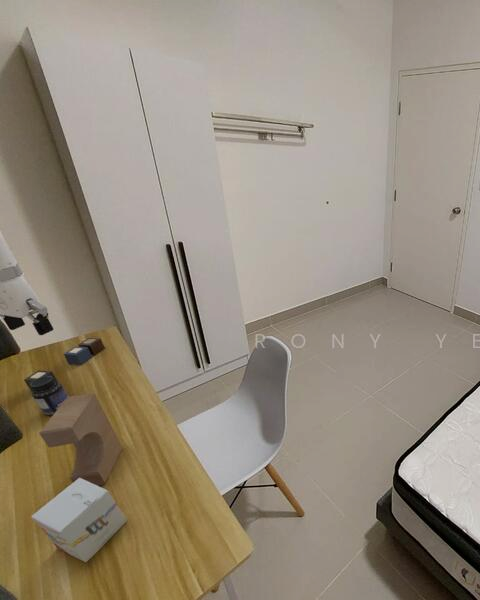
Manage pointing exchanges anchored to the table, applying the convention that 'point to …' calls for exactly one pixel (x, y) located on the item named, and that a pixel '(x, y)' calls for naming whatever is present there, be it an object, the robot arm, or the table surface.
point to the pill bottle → (48, 394)
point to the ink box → (80, 519)
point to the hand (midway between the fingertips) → (32, 330)
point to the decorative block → (85, 437)
